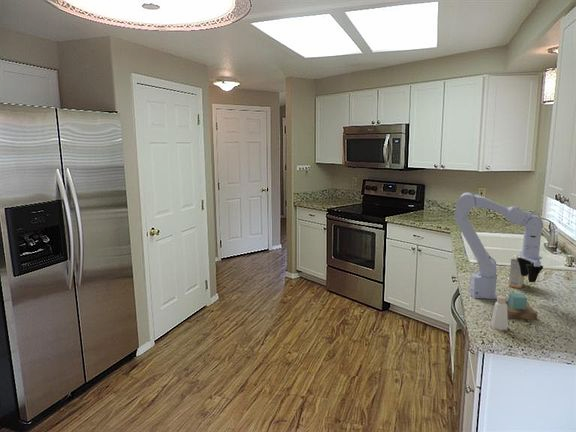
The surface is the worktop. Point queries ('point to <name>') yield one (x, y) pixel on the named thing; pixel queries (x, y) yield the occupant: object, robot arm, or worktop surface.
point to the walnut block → (521, 313)
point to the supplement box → (515, 273)
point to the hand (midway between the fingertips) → (527, 278)
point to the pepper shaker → (500, 314)
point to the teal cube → (517, 301)
